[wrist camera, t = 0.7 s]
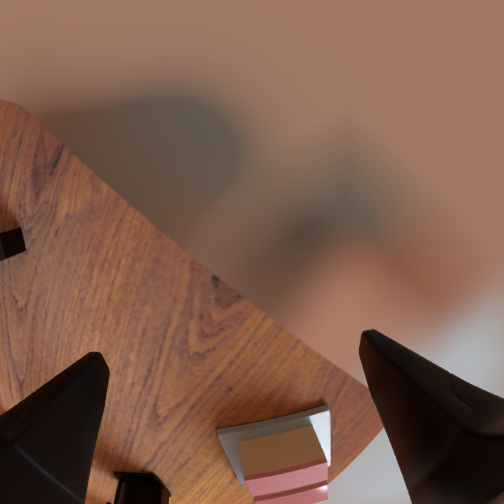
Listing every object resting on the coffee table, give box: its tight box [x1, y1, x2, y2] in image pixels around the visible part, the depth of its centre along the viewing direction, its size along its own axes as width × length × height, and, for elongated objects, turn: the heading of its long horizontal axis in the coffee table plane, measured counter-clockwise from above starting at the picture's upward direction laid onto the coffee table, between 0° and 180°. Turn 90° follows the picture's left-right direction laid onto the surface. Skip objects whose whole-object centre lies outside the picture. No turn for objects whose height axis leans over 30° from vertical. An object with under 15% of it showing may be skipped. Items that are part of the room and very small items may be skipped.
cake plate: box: [217, 404, 331, 504], centre depth 25 cm, size 12×12×7 cm
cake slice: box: [239, 425, 328, 497], centre depth 24 cm, size 8×4×6 cm, turn 101°
